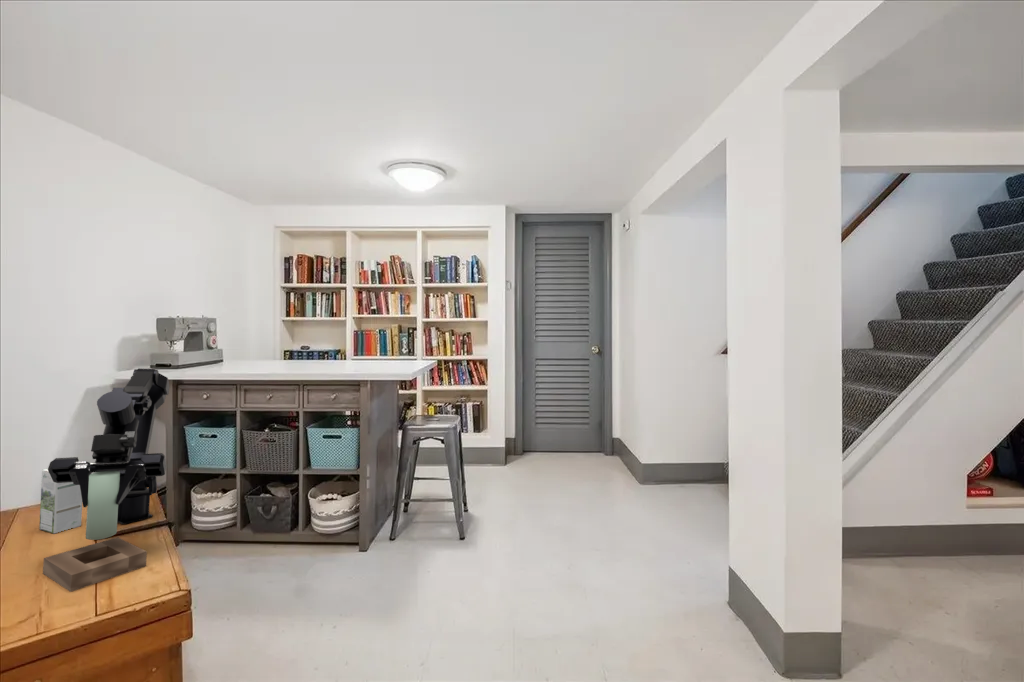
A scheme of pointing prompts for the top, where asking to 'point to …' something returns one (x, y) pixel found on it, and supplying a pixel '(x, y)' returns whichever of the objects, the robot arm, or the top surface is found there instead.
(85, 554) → the pocket block
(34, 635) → the top surface
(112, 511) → the peg
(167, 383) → the robot arm
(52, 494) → the syrup box
